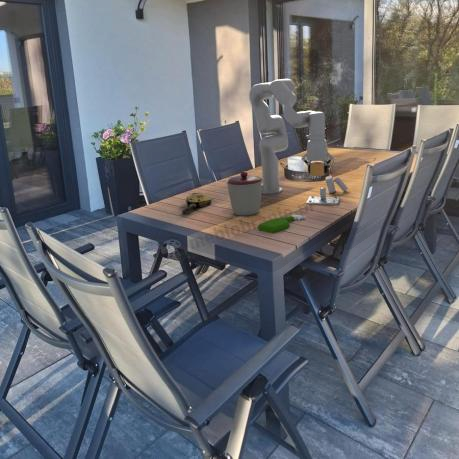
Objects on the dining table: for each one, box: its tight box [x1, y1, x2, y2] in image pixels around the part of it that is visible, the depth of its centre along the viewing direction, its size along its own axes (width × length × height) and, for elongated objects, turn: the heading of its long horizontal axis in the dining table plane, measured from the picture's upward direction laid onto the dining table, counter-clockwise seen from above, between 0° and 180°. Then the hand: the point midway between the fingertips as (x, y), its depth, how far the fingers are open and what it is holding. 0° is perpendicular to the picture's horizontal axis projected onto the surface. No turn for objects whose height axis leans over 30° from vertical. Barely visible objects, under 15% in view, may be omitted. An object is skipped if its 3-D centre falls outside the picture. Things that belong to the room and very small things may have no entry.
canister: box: [225, 171, 263, 217], centre depth 240 cm, size 18×18×21 cm
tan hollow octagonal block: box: [309, 161, 326, 177], centre depth 247 cm, size 7×7×6 cm
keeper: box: [305, 187, 341, 206], centre depth 253 cm, size 16×12×7 cm
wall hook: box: [325, 175, 349, 194], centre depth 269 cm, size 8×10×10 cm
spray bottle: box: [257, 213, 307, 234], centre depth 222 cm, size 3×11×25 cm
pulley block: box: [181, 192, 215, 214], centre depth 261 cm, size 14×6×30 cm
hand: (317, 172), depth 247 cm, fingers closed on tan hollow octagonal block, 7 cm apart
